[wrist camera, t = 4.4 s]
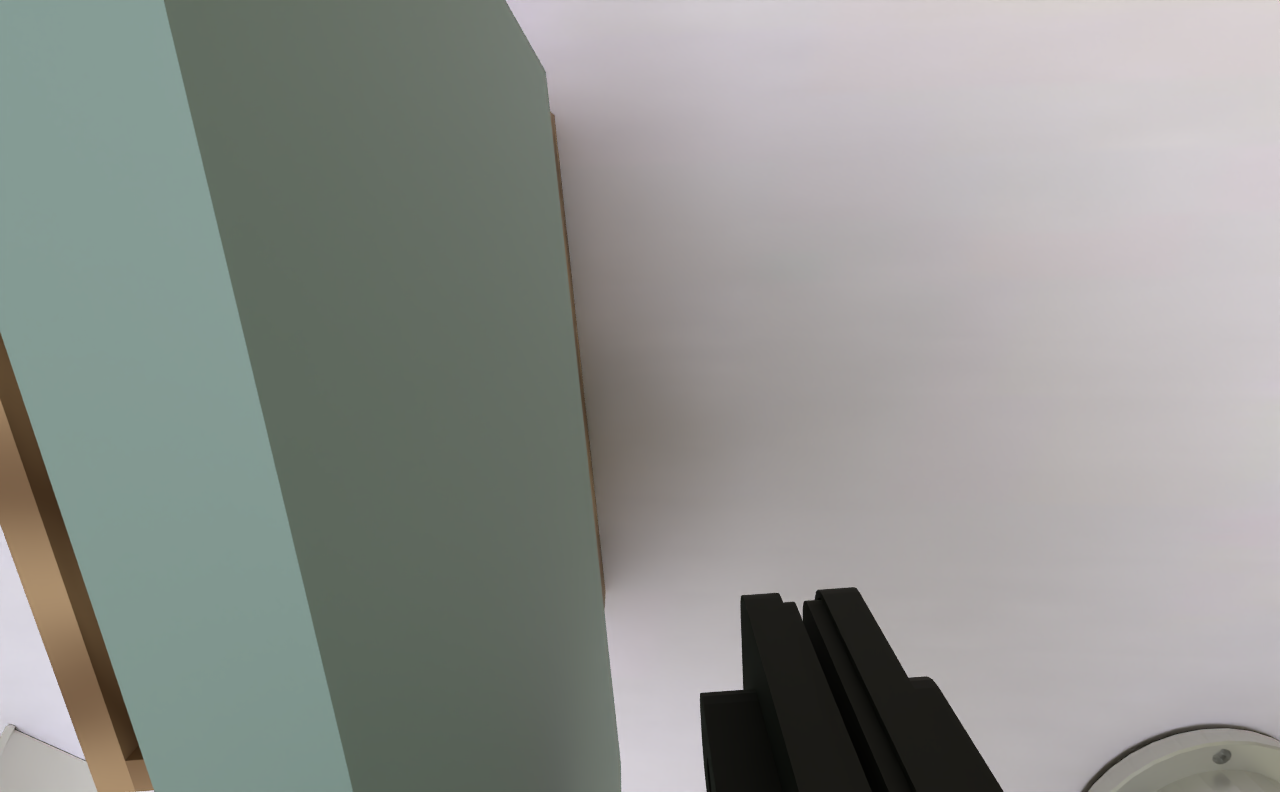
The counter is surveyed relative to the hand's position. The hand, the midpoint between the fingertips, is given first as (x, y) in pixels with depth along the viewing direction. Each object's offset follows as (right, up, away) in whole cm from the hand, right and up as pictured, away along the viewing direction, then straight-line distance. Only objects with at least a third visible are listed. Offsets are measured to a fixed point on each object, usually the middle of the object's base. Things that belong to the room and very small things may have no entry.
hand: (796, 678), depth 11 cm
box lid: (-4, 0, +2) cm, 4 cm away
